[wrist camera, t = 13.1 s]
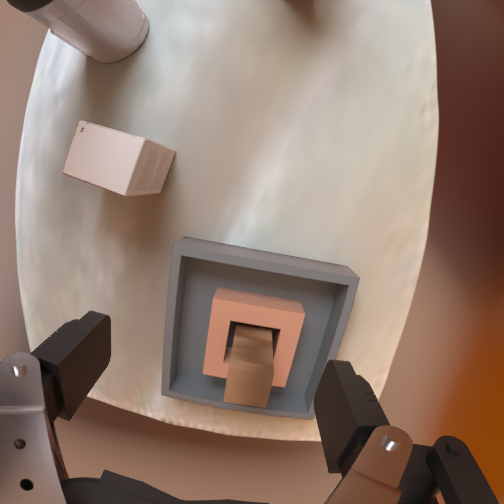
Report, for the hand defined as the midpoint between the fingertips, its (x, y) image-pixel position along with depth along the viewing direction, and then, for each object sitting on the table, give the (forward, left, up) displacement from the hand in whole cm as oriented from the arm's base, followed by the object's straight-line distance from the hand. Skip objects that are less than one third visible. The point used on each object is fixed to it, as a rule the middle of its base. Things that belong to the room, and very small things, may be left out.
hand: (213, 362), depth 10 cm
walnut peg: (+3, -11, -25) cm, 28 cm away
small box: (-14, +7, -27) cm, 31 cm away
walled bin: (+3, -11, -26) cm, 29 cm away
